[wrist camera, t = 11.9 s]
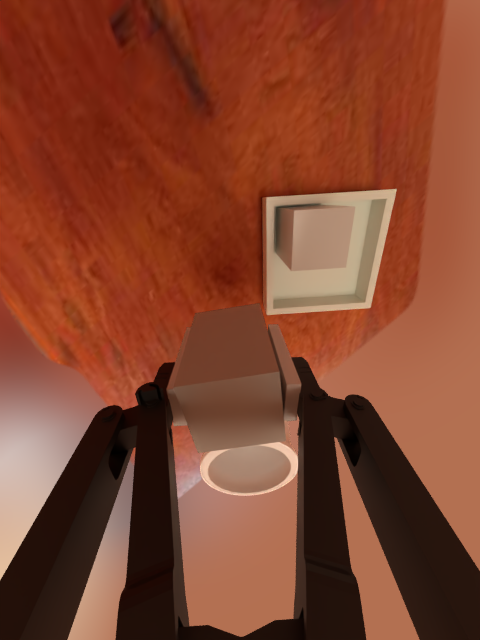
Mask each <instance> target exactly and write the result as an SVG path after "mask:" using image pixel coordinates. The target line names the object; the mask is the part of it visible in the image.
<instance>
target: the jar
mask: <svg viewBox="0 0 480 640" xmlns="http://www.w3.org/2000/svg"><path fill="white" fill-rule="evenodd" d="M284 424H285V434H286V441H283V442H275V443H268V444H261V445H253V446H246V447H239V448H232V449H224V450H217V451H210V452H204V453H203V455H202V457H201V461H200V473H201V476H202V478H203V480H204V481H205V482H206V483H207V484H208V485H209V486H211V487H212V488H214V489H216V490H218V491H220V492H224V493H227V494H232V495H242V496H249V495H258V494H263V493H268V492H271V491H274V490H276V489H278V488H280V487H282V486H284V485H286V484H287V483H288V482H290V481H291V480H292V479H293V478H294V476H295V475H296V473H297V471H298V457H297V453H296V451H295V449H294V447H293V446H292V445H291V444H290V429H289V424H288V421H284Z"/></svg>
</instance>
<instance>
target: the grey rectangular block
mask: <svg viewBox="0 0 480 640" xmlns="http://www.w3.org/2000/svg"><path fill="white" fill-rule="evenodd" d="M173 388H174V391H175V393H176V396H177V398H178V401H179V404H180V406H181V409H182V412H183V414H184V417H185V420H186V422H187V425H188V427H189V430H190V433H191V435H192V438H193V441H194V443H195V446H196V449H197V451H198V453H203V452H210V451H217V450H224V449H232V448H239V447H246V446H253V445H261V444H268V443H275V442H283V441H286V434H285V424H284V413H283V403H282V393H281V382H280V372H279V368H278V365H277V361H276V358H275V355H274V351H273V348H272V344H271V341H270V338H269V334H268V331H267V327H266V324H265V320H264V317H263V314H262V310H261V307H260V303H258V304H251V305H245V306H239V307H232V308H226V309H220V310H213V311H207V312H201V313H195V316H194V319H193V323H192V326H191V329H190V333H189V336H188V339H187V343H186V346H185V350H184V353H183V356H182V360H181V363H180V366H179V370H178V373H177V376H176V380H175V383H174V387H173Z"/></svg>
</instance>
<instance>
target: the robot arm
mask: <svg viewBox="0 0 480 640" xmlns="http://www.w3.org/2000/svg"><path fill="white" fill-rule="evenodd" d="M190 329H191V327H187V329H186V332H185V335H184V338H183V341H182V344H181V347H180V350H179V353H178V356H177V359H176V362H171V363H164V364H163V365H162V366H161V367H160V368H159V370H158V372H157V375H156V377H155V380H154V382H149V383H146V384H144V385H142V386H141V387H139V388H138V389H137V391H136V393H135V395H136V398H137V402H138V405H137V406H135V407H133V408H129V409H126V410H122V408H121V407H120V406H116V405H112V406H108V407H106V408H103V409H102V410H100V411H99V412H98V413H97V414H96V415H95V417H94V418H93V420H92V422H91V424H90V425H89V427H88V429H87V431H86V432H85V434H84V436H83V438H82V439H81V441H80V443H79V445H78V446H77V448H76V450H75V452H74V453H73V455H72V457H71V458H70V460H69V462H68V464H67V466H66V467H65V469H64V471H63V472H62V474H61V476H60V478H59V480H58V481H57V483H56V485H55V486H54V488H53V490H52V492H51V493H50V495H49V497H48V498H47V500H46V502H45V504H44V506H43V507H42V509H41V511H40V512H39V514H38V516H37V518H36V519H35V521H34V523H33V525H32V526H31V528H30V530H29V531H28V533H27V535H26V537H25V539H24V540H23V542H22V544H21V546H20V547H19V549H18V551H17V552H16V554H15V556H14V558H13V559H12V561H11V563H10V565H9V566H8V568H7V570H6V571H5V573H4V575H3V577H2V578H1V580H0V640H67V639H68V636H69V633H70V630H71V627H72V624H73V622H74V619H75V615H76V613H77V610H78V607H79V604H80V601H81V598H82V596H83V593H84V590H85V587H86V584H87V581H88V578H89V575H90V572H91V569H92V567H93V564H94V561H95V558H96V555H97V552H98V549H99V546H100V543H101V541H102V538H103V534H104V532H105V529H106V526H107V523H108V520H109V517H110V514H111V511H112V508H113V506H114V503H115V500H116V497H117V494H118V491H119V488H120V486H121V483H122V480H123V477H124V474H125V471H126V468H127V465H128V462H129V460H130V457H131V454H132V451H133V448H135V447H136V451H135V465H134V479H133V495H132V507H131V521H130V536H129V550H128V563H127V578H126V584H125V588H124V590H123V591H122V594H121V597H120V601H119V609H118V619H117V631H116V640H366V634H365V627H364V621H363V614H362V606H361V600H360V594H359V588H358V583H357V580H356V577H355V576H354V574H353V572H352V569H351V564H350V557H349V549H348V542H347V534H346V526H345V519H344V511H343V503H342V495H341V488H340V480H339V473H338V464H337V457H336V449H335V441H334V437H336V438H337V439H338V442H339V444H340V447H341V449H342V452H343V454H344V456H345V459H346V461H347V464H348V466H349V469H350V471H351V474H352V476H353V478H354V480H355V483H356V486H357V488H358V491H359V493H360V495H361V498H362V500H363V503H364V505H365V508H366V510H367V512H368V515H369V517H370V520H371V522H372V524H373V527H374V529H375V532H376V534H377V537H378V539H379V542H380V544H381V547H382V549H383V551H384V554H385V556H386V559H387V561H388V564H389V566H390V568H391V571H392V573H393V576H394V578H395V580H396V583H397V585H398V588H399V590H400V593H401V595H402V597H403V600H404V602H405V605H406V607H407V610H408V612H409V615H410V617H411V619H412V621H413V624H414V627H415V629H416V632H417V634H418V637H419V639H420V640H480V571H479V569H478V568H477V566H476V565H475V563H474V562H473V560H472V559H471V557H470V555H469V554H468V552H467V551H466V549H465V548H464V546H463V545H462V543H461V542H460V540H459V538H458V537H457V536H456V534H455V532H454V531H453V529H452V528H451V526H450V525H449V523H448V521H447V520H446V518H445V517H444V515H443V514H442V512H441V511H440V509H439V508H438V506H437V505H436V503H435V502H434V500H433V498H432V497H431V495H430V494H429V492H428V491H427V489H426V488H425V486H424V484H423V483H422V482H421V480H420V478H419V477H418V475H417V474H416V472H415V471H414V469H413V467H412V466H411V464H410V463H409V461H408V460H407V458H406V457H405V455H404V454H403V452H402V451H401V449H400V447H399V446H398V444H397V443H396V442H395V440H394V438H393V437H392V435H391V434H390V432H389V431H388V429H387V427H386V426H385V424H384V423H383V421H382V420H381V418H380V417H379V415H378V413H377V412H376V411H375V409H374V407H373V406H372V404H371V403H370V402H369V401H368V400H367V399H365V398H364V397H362V396H359V395H348V396H347V397H346V398H345V400H342V399H337V398H333V397H330V396H328V394H327V393H326V392H325V391H324V390H322V389H321V388H320V387H319V385H318V383H317V381H316V379H315V377H314V375H313V373H312V371H311V368H310V366H309V364H308V362H307V361H306V360H305V359H304V358H302V357H291V356H290V353H289V351H288V348H287V346H286V343H285V341H284V338H283V336H282V333H281V330H280V328H279V325H278V324H273V325H268V334H269V338H270V341H271V344H272V348H273V351H274V355H275V358H276V361H277V365H278V368H279V372H280V382H281V393H282V403H283V413H284V421H292V420H297V414H298V417H299V420H300V421H299V428H298V436H299V437H298V488H297V490H298V491H297V539H296V542H297V543H296V586H295V601H294V619H287V620H275V621H273V622H271V623H269V624H267V625H265V626H263V627H262V628H259V629H257V630H256V631H254V632H252V633H250V634H248V635H246V636H244V637H239V636H236V635H233V634H230V633H228V632H225V631H222V630H220V629H217V628H214V627H211V626H209V625H205V626H204V625H203V626H189V618H188V610H187V603H186V596H185V586H184V573H183V560H182V548H181V536H180V525H179V511H178V499H177V486H176V474H175V462H174V449H173V437H172V429H171V425H172V421H173V423H174V426H183V425H187V422H186V420H185V417H184V414H183V412H182V409H181V406H180V404H179V401H178V398H177V396H176V393H175V391H174V388H173V387H174V383H175V380H176V376H177V373H178V370H179V366H180V363H181V360H182V356H183V353H184V350H185V346H186V343H187V339H188V336H189V333H190Z"/></svg>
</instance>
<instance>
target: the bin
mask: <svg viewBox="0 0 480 640" xmlns="http://www.w3.org/2000/svg"><path fill="white" fill-rule="evenodd" d="M396 190H397V189H390V190H372V191H356V192H341V193H325V194H309V195H293V196H277V197H262V245H263V305H264V308H265V311H266V314H267V315H275V314H289V313H304V312H318V311H333V310H348V309H362V308H370V307H371V302H372V298H373V293H374V289H375V284H376V280H377V275H378V271H379V266H380V262H381V257H382V253H383V248H384V244H385V239H386V235H387V231H388V226H389V222H390V217H391V213H392V208H393V204H394V199H395V195H396ZM318 204H324V205H339V206H354V207H355V213H354V220H353V226H352V232H351V239H350V245H349V252H348V258H347V264H346V268H332V269H317V270H302V271H291V270H290V269H289V268H288V267H287V266H286V264H285V263H284V262H283V261H282V260H281V259H280V257H279V256H278V255H277V254H276V207H287V206H303V205H318Z"/></svg>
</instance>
